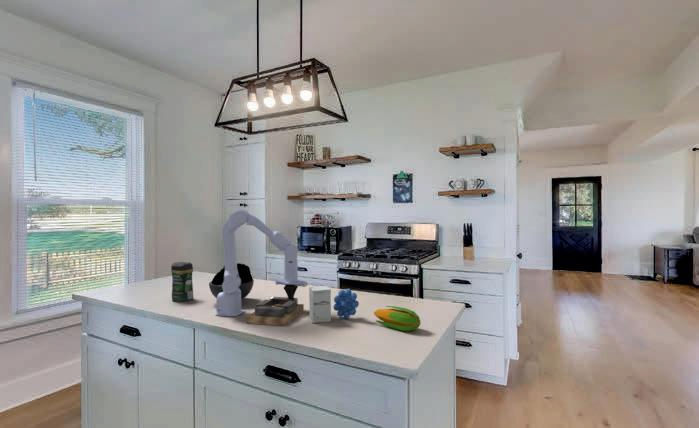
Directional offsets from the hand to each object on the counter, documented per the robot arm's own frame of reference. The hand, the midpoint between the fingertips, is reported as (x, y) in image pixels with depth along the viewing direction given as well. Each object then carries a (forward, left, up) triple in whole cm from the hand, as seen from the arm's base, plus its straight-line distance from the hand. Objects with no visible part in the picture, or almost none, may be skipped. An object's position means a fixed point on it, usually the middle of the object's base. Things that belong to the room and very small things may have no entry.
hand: (291, 301), depth 149 cm
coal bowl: (-32, +6, -4) cm, 33 cm away
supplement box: (+17, -11, -4) cm, 20 cm away
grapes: (+27, -7, -4) cm, 28 cm away
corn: (+46, -14, -4) cm, 48 cm away
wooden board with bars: (-2, -10, -3) cm, 11 cm away
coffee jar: (-59, +6, -4) cm, 60 cm away
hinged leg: (-2, -3, -1) cm, 4 cm away
